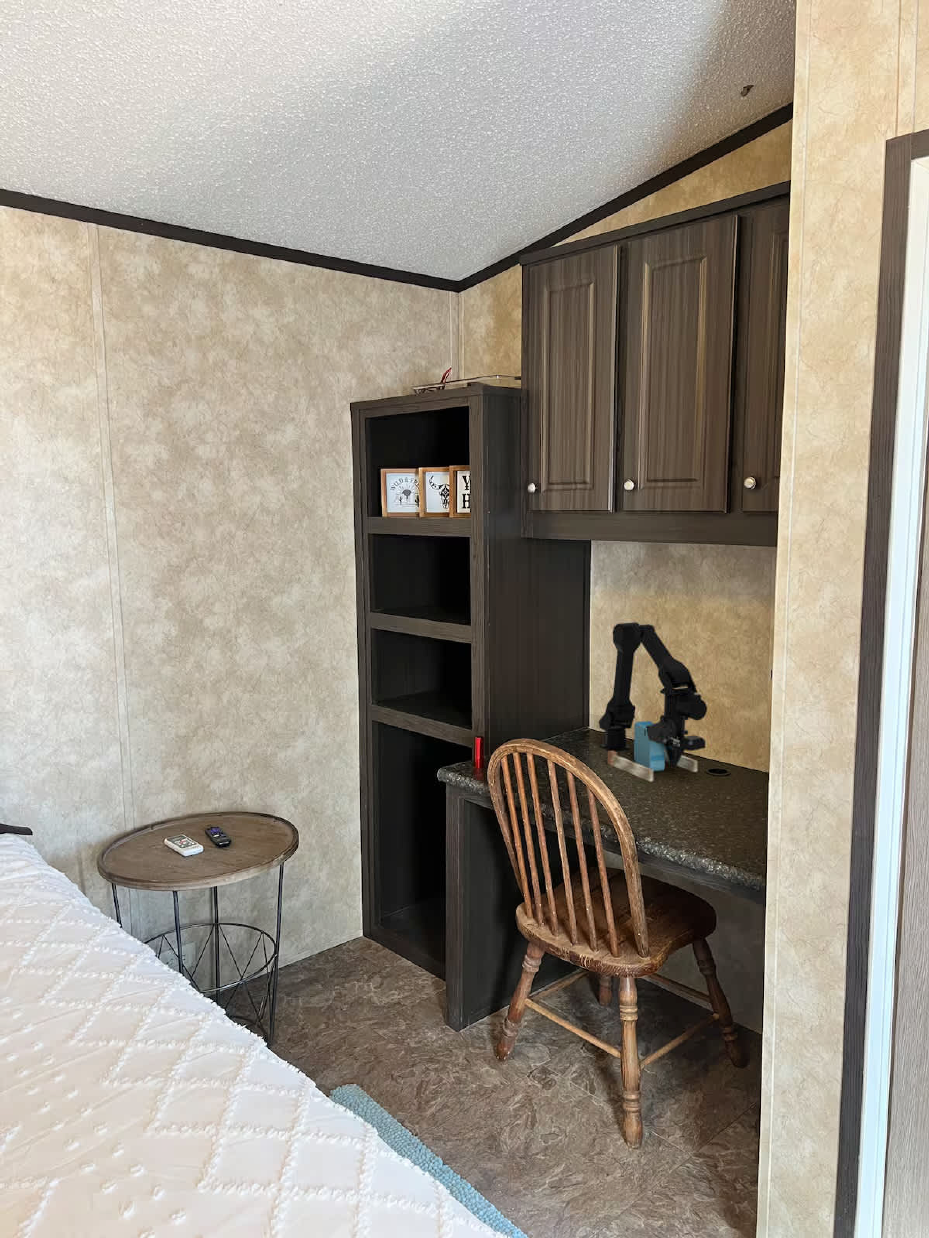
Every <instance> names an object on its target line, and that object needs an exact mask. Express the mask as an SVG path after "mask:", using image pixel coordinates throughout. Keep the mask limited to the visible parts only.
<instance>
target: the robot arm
mask: <svg viewBox="0 0 929 1238" xmlns="http://www.w3.org/2000/svg"><path fill="white" fill-rule="evenodd" d="M612 643H613V645H614V646H615V649H616V651H617V652H616V663H615V671H614V672H615V674H614V682H613V683H614V684H613V693H612V697H611V698H610V700H609V701H608V702H607V704H606V707H605V712H604V714H603V715H602V716H601V717H600V719H599V720H598V725H599V728H600V729H601V730H603V731H604V744H600V747H602V748H603V749H605V750H608V751H615V752H618V751H624V750H630V746H628V745H627V729H632V726H633V723H634V719H636V715H635V712H636V709H637V708H636V705H634V704H633V702H632V701H631V699H630V697H631V689H632V678H633V670H634V669H633V667H634V660H635V659H634V658H635V654H636V653H635V652H636V651H637V650H638V649H639V647H640V646H641V645H642V646H643V647H644V649H645V650H646V652H647V653H648V655H649V657H650V658H651V659H652V661H653V662H654V664H655V665H656V667H657V676H658V678H659V681H660V682H661V685H662V686H663V688H662V689H661V690H660V691H659V692H660V694H662V695H664V701H663V703H664V705H663V707H664V709H663V714H661V715H660V717H659V722H656V723H654V725H649V726H647V727H646V728H647V729H646V730H645V729H644V736H646V731H647V735H648V738H649V740H650V741H654V742H656V743H660V744H661V745H662V746H664V748H665V750H666V752H667V755H668V758H669V762H670V763H669V762H668V763H669V765H670V768H677V763H678V761H679V759H680V758H681V756H682V755H684V752H685V751H687V752H692V751H693V752H694V751H697V750H702V749H705V748H706V739H704V737H701V736H698V735H695V734H692V735H689V730H687V729H686V721H688V720H689V719H691V720H695V721H700V720H702V719H704V717H705V716H706V714H707V711H708V706H707V703H706V702H705V701H704V700H703V699H702V694H699V693H698V689H697V686H696V684H695V682H694V680H693V677H692V674H691V672H690V670H689V669H688V668H687V666H686V665H685V664H684V663H683V662H681V661H680V660H678V659H675V658H674V657H673V656H672V654H671V653H670V651H669V650H668V648H667V647H666V645H665V644H664V643H663V641H662V640H661V638H660V637H659V636H658V634H657V632H656V630H655V626H654V625H652V624H651V623H647V624H640V623H639V622H636V621H634V622H632V621H631V622H623V623H622V622H621V623H620V622H619V623H617V624H616V625H614V626H613V629H612ZM686 735H687V736H686Z"/></svg>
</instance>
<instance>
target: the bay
mask: <svg viewBox="0 0 929 1238" xmlns="http://www.w3.org/2000/svg"><path fill="white" fill-rule="evenodd" d="M617 753H618V751H610V750H608V751H607V765H609V766H611V767H615V768H617V769H620V770H622V771H623V772H624V771H625V772H627V773H629V774H630V775H634V776H636V777H638V778H641V779H643V780H645V781H648V782H654V771H653V770H652V769H650V768H647V767H645V766H642V765H640V764H638V763H637V762H636V761H632V760H629V759H627V758H625V757H622V756H619V755H617ZM665 762H667V763H669V764H670V762H669V758H668V755H667V752H666V750H665ZM698 762H699V761H698V760H695V759H694V758H691V757H687V756H685V755H684V754H682V756H681V758H680V759H679V761H678V763H677V765H676V767H677V766H678V767H680V768H681V769H682V768H683V769H685V770H688V771H689V772H693V773H694V772H696V773H697V772H698Z"/></svg>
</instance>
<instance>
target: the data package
mask: <svg viewBox="0 0 929 1238" xmlns="http://www.w3.org/2000/svg"><path fill="white" fill-rule="evenodd" d="M654 724H655V723H654V722H652V721H650V720H648V721H647V720H646V721H635V723H634V730H633V731H634V732H633V733H634V734H633V735H634V736H633V758H634V762H635V763H637V764H640V765H642V766H645V767H647V768H650V769H652V770H653V772H659V771H660V772H661V771H664V770H665V768H666V767H665V765H666V764H665V763H666V761H665V748H664V746H662V745H661V744H660V743H656V742H654V741H650V740H649V738H648V735H647V731H646V736H644V729H645V730H646V729H647V728H646V727H647V726H649V725H654Z"/></svg>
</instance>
